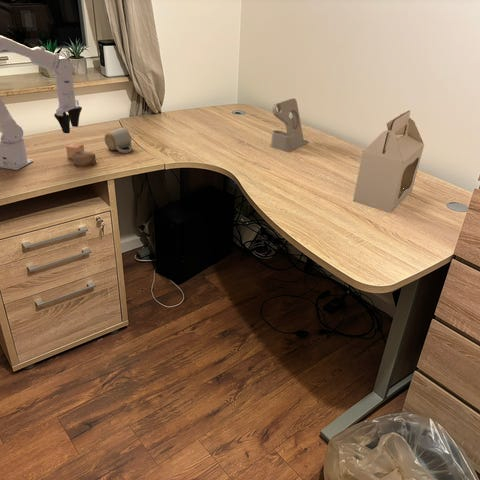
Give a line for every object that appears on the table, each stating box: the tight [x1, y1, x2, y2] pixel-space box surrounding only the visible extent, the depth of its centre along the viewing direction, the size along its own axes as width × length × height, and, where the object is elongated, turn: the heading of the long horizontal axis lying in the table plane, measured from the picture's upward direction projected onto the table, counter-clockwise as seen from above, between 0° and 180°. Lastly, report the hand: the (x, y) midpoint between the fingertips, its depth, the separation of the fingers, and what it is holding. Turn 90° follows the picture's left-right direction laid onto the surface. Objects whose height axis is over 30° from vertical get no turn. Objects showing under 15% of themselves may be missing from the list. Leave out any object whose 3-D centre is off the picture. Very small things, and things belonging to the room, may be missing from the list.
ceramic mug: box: [104, 127, 133, 154], centre depth 184 cm, size 11×8×8 cm
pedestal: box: [71, 151, 97, 168], centre depth 172 cm, size 8×8×3 cm
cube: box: [65, 142, 85, 160], centre depth 176 cm, size 4×4×4 cm
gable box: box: [352, 110, 425, 213], centre depth 154 cm, size 22×13×28 cm, turn 145°
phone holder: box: [270, 97, 309, 153], centre depth 197 cm, size 17×10×18 cm, turn 142°
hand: (70, 129), depth 174 cm, fingers open, 7 cm apart
